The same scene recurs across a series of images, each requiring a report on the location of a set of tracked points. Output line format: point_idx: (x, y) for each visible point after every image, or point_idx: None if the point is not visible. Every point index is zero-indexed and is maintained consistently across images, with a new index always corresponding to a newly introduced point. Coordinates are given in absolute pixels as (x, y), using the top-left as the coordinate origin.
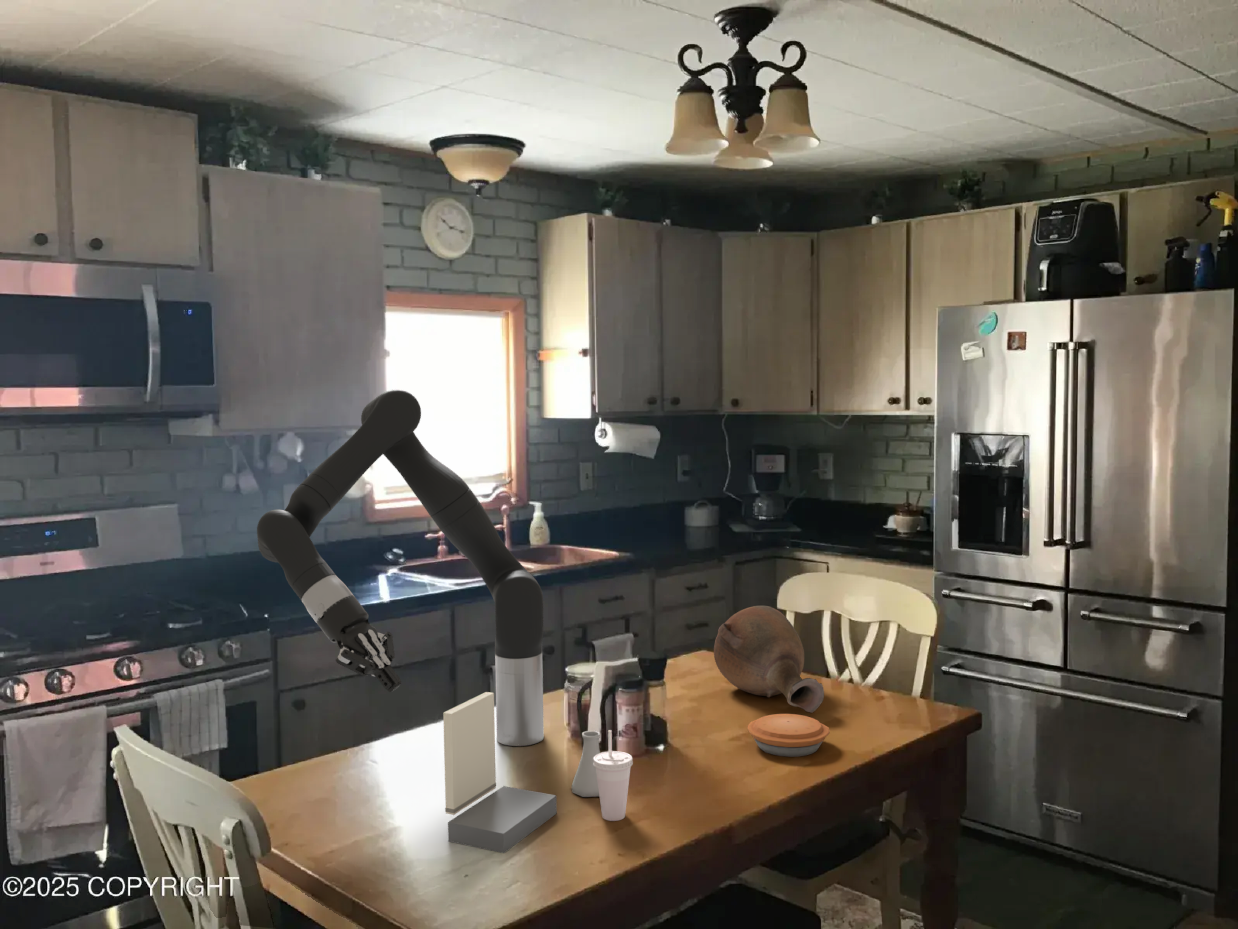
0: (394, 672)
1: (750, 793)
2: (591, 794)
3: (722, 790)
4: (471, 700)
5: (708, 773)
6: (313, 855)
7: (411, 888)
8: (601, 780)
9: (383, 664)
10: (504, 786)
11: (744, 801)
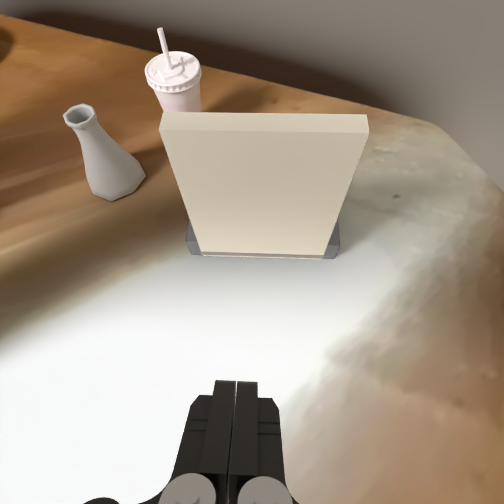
0: (190, 438)
1: (94, 59)
2: (140, 166)
3: (91, 77)
4: (244, 125)
5: (41, 98)
6: (489, 423)
7: (459, 231)
8: (197, 95)
9: (240, 496)
10: (187, 239)
11: (116, 58)
